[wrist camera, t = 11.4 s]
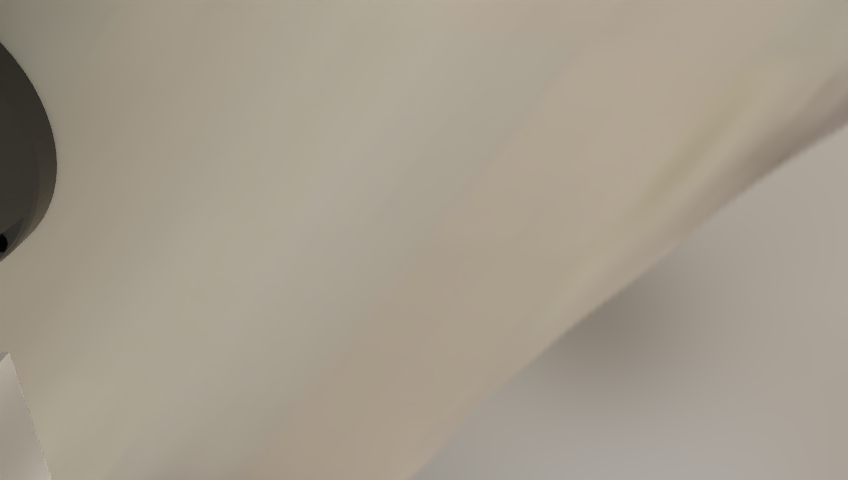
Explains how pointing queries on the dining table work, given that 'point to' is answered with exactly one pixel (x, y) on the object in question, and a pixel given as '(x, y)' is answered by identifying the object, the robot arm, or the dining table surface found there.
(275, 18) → the dining table surface
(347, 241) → the dining table surface
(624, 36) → the dining table surface
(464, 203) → the dining table surface
